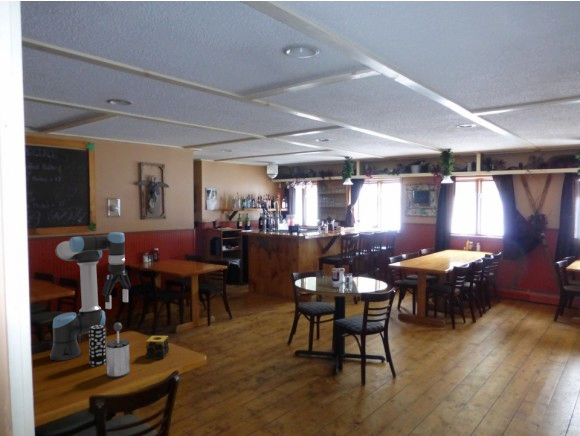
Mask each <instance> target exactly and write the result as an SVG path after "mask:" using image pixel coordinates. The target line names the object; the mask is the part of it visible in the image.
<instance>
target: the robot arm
mask: <svg viewBox="0 0 580 436" xmlns="http://www.w3.org/2000/svg"><path fill="white" fill-rule="evenodd" d="M125 241H126V238H125V233H124V232H120V231H118V232H117V231H115V232H113V231H112V232H109V233H108V234H102V235H88V236H73V237H70V238H69V240H64V241H62V242H60V243H58V244H57V245H56V247H55V255H56V256H57V257H58V258H59V259H61V260H63V261H67V262H68V261H69V262H73V261H74V262H76V264H77V265H78V266H79V271H80V274H79V275H80V294H81V295H80V296H81V308H80V309H79V311H78V314H77V313H76V312H75V311H74V312H73V311H69V312H65V313H60V314H58V315H57V316H55V317H54V318H53V322H52V336H53V337H52V339H53V341H52V342H53V343H52V347H51V350H50V354H49V358H50V360H52V361H58V362H59V361H68V360H71V359H75V358H77V357H79V356H80V355H81V348H80V346H79V343H78V340H77V339H78V338H77V337H78V336H81V335H86V334H89V327H90V326H93V325H100V324H101V325H106V312H105V311H104V310H102V308H101V306H99V296H98V278H97V277H98V276H97V275H98V274H97V264H98V263H99V261H100V259H102V257H103V251H108V263H109V264H108V271H109V272H110V274H106V275H105V281H104V285H103V289H102V291H101V296H104V299H105V300H104V302H105V309H106V310H111V309H112V295H111V293H112V292H113V289H114V287H115V285H116V284H117V283H118V282H119V284H120V285H121V287H122V302H123V303H129V290H130V289H131V287H132V283H131V281H130V278H129V275H128V270H126V264H125V261H126V259H125V258H126V257H125V256H126V255H125V252H126V251H125V249H126V247H125V246H126V245H125V243H126V242H125Z"/></svg>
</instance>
